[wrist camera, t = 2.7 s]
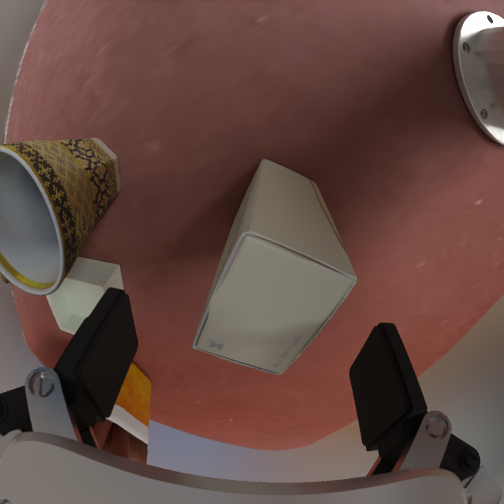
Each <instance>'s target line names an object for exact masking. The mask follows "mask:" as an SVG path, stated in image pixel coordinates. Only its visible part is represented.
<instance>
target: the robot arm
mask: <svg viewBox="0 0 504 504" xmlns="http://www.w3.org/2000/svg"><path fill="white" fill-rule="evenodd" d="M453 62H454V67H455V73H456V77H457V80H458V84H459V88H460V90H461V93H462V96H463V98H464V101H465V103H466V105H467V107H468V109H469V111H470V113H471V115H472V116H473V118H474V119H475V121H476V122H477V124H478V126H479V127H480V128H481V129H482V130H483V131H484V132H485V134H486V135H487V136H489V137H490V138H491V139H493V140H494V141H496V142H498V143H500V144H502V145H504V19H502V18H501V17H499V16H497V15H495V14H493V13H490V12H486V11H476V12H473V13H469V14H467V15H465V16H464V17H463V18H461V20H460V21H459V23H458V24H457V26H456V29H455V33H454V37H453ZM137 348H138V339H137V335H136V330H135V326H134V321H133V316H132V311H131V305H130V300H129V296H128V294H125V291H124V290H123V289H118V288H113V287H109V288H108V289H107V290H106V292H105V293H104V294H103V296H102V297H101V299H100V300H99V302H98V303H97V305H96V306H95V308H94V309H93V311H92V312H91V314H90V315H89V316H88V317H86V318H85V319H84V321H83V322H82V324H81V325H80V327H79V328H78V330H77V331H76V333H75V334H74V336H73V338H72V339H71V341H70V343H69V344H68V346H67V347H66V349H65V351H64V352H63V354H62V356H61V357H60V359H59V361H58V363H57V364H56V366H55V368H54V370H52V369H51V368H48V367H39V368H36V369H34V370H33V371H32V372H30V373H29V375H28V376H27V378H26V382H25V386H22V387H19V388H16V389H13V390H10V391H7V392H4V393H1V394H0V504H499V502H500V500H501V496H502V490H501V488H500V486H499V485H498V484H497V482H496V481H495V480H494V479H493V478H492V476H491V475H490V474H489V473H488V471H487V470H486V469H485V468H484V466H483V465H482V466H480V456H479V453H478V452H477V450H476V449H474V448H473V447H472V446H470V445H469V444H467V443H465V442H463V441H462V440H461V439H459V438H457V437H456V436H454V435H453V434H451V430H452V429H451V423H450V420H449V419H448V417H447V416H446V415H445V414H444V413H442V412H440V411H431V412H427V405H426V402H425V399H424V396H423V394H422V391H421V388H420V386H419V383H418V380H417V377H416V375H415V372H414V369H413V367H412V364H411V362H410V359H409V357H408V354H407V352H406V349H405V347H404V345H403V342H402V340H401V338H400V335H399V333H398V331H397V328H396V326H395V325H394V324H393V323H379V324H378V325H377V326H375V327H374V328H373V330H372V332H371V333H370V335H369V337H368V339H367V341H366V342H365V344H364V346H363V348H362V349H361V351H360V353H359V354H358V356H357V358H356V359H355V361H354V363H353V364H352V366H351V368H350V372H349V376H350V381H351V386H352V390H353V395H354V400H355V405H356V411H357V416H358V421H359V427H360V432H361V438H362V443H363V445H364V446H366V450H367V451H373V450H378V452H379V457H378V459H377V460H376V462H375V463H374V465H373V467H372V468H371V470H370V471H369V473H368V474H367V476H366V477H358V478H351V479H343V480H334V481H321V482H306V483H305V482H304V483H267V482H248V481H235V480H226V479H218V478H210V477H204V476H197V475H192V474H186V473H181V472H176V471H172V470H167V469H163V468H159V467H155V466H151V465H147V464H144V463H140V462H137V461H133V460H130V459H127V458H123V457H120V456H117V455H114V454H111V453H108V452H105V451H103V450H101V449H100V447H99V444H98V442H97V440H96V437H95V435H94V432H93V430H92V425H93V422H94V420H97V421H99V422H102V423H104V421H105V419H106V418H109V417H110V416H111V413H112V411H113V408H114V405H115V403H116V400H117V398H118V395H119V392H120V390H121V387H122V385H123V382H124V380H125V377H126V375H127V373H128V370H129V368H130V365H131V363H132V361H133V358H134V356H135V353H136V351H137Z"/></svg>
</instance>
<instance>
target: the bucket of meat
mask: <svg viewBox="0 0 504 504" xmlns="http://www.w3.org/2000/svg"><path fill="white" fill-rule="evenodd" d="M151 385H152V383H151V381H150V379H149V377H148V376H147V375H146V374H145V373H144V372H143V371H142V370H141V369H140V368H139V367H138V366H137V365H136V363H135V362H134V361H132V363H131V365H130V368H129V370H128V373H127V375H126V377H125V380H124V382H123V385H122V387H121V390H120V392H119V395H118V398H117V400H116V403H115V405H114V408H113V411H112V413H111V416H110V417H109V418H106V419H105V421H104V423H102V422H99V421H97V420H94V422H93V425H92V430H93V432H94V435H95V437H96V440H97V442H98V444H99V447H100V449H101V450H103V451H105V452H108V453H111V454H114V455H117V456H120V457H123V458H127V459H130V460H133V461H137V462H140V463H144V464H146V459H147V454H148V425H149V411H150V398H151Z"/></svg>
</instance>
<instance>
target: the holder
mask: <svg viewBox="0 0 504 504" xmlns="http://www.w3.org/2000/svg"><path fill="white" fill-rule="evenodd" d="M109 287H113V288H118V289H123V290H124V287H123V282H122V276H121V270H120V265H118V264H113V263H108V262H103V261H98V260H93V259H88V258H83V257H79V256H78V258H77V259H76V261H75V263H74V264H73V266H72V268H71V270H70V271H69V273H68V274H67V276H66V278H65V279H64V281H63V282H62V284H61V285H60V287H59V288H58V289H57V290H56V291H55V292H54V293H52V294H50V295H46V297H47V300H48V302H49V305H50V307H51V310H52V312H53V314H54V317H55V319H56V321H57V324H58V326H59V328H60V330H63V331H66V332H68V333H71V334H75V333H76V331H77V330H78V328H79V327H80V325H81V324H82V322H83V321H84V319H85V318H86V317H88V316H89V315H90V314H91V312H92V311H93V309H94V308H95V306H96V305H97V303H98V302H99V300H100V299H101V297H102V296H103V294H104V293H105V292H106V290H107V289H108V288H109Z"/></svg>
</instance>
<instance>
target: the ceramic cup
mask: <svg viewBox="0 0 504 504" xmlns="http://www.w3.org/2000/svg"><path fill="white" fill-rule="evenodd" d="M120 190H121V182H120V174H119V165H118V157H117V156H116V155H115V154H114V153H113V152H112V151H111V150H110V149H109V148H108V147H107V146H106V145H105V144H104V143H103V142H102V141H101V140H100V139H97V138H84V139H68V140H56V141H51V140H31V141H22V142H14V143H9V144H4V145H0V273H1V277H2V279H3V281H4V282H5V283H7V284H8V283H10V282H11V283H13V284H14V285H15V286H17V287H18V288H20V289H21V290H23V291H25V292H27V293H30V294H33V295H37V296H46V295H50V294H52V293H54V292H55V291H56V290H57V289H58V288H59V287H60V285H61V284H62V282H63V281H64V279H65V278H66V276H67V274H68V273H69V271H70V270H71V268H72V266H73V264H74V263H75V261H76V259H77V258H78V256H79V254H80V253H81V251H82V249H83V247H84V245H85V243H86V241H87V239H88V237H89V235H90V233H91V231H92V230H93V229H94V227H95V226H96V224H97V223H98V222H99V220H100V219H101V218H102V217H103V215H104V214H105V212H106V211H107V209H108V208H109V207H110V205H111V204H112V202H113V201H114V199H115V198H116V196H117V195H118V194H119V192H120Z"/></svg>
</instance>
